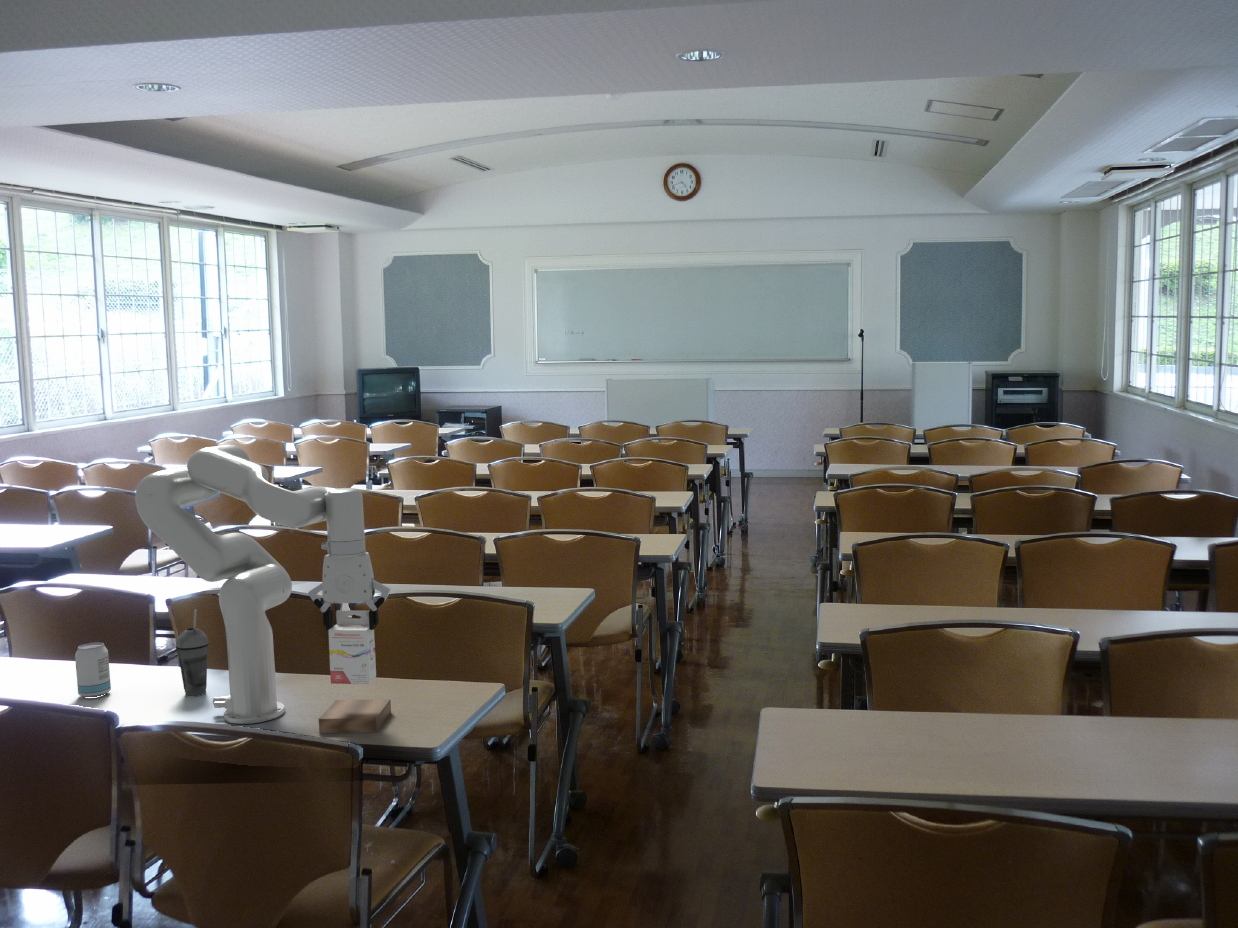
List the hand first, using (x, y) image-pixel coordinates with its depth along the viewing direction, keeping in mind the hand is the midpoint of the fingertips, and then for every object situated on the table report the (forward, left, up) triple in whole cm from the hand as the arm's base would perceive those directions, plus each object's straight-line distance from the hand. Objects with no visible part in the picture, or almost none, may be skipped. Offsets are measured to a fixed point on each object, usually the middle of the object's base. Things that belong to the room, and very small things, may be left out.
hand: (351, 628), depth 222 cm
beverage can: (-68, +22, -21) cm, 74 cm away
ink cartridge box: (0, 0, -11) cm, 11 cm away
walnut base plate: (0, 0, -20) cm, 20 cm away
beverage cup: (-44, +22, -21) cm, 53 cm away
